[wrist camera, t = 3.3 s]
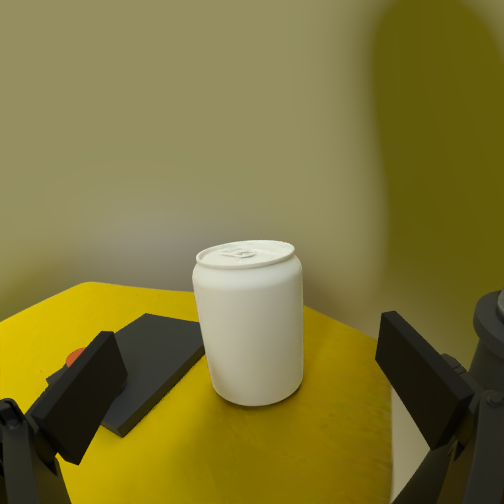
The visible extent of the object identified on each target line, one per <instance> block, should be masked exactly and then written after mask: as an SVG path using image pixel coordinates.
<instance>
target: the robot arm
mask: <svg viewBox="0 0 504 504" xmlns="http://www.w3.org/2000/svg"><path fill="white" fill-rule="evenodd" d="M496 313H497V316H498V317H499V319H500V320H501V321H502V323H503V324H504V288H503V290H502V291H501V293H500V295H499V297H498V302H497V306H496ZM375 360H376V361H377V363H378V364H379V366H380V368H381V369H382V371H383V372H384V374H385V375H386V377H387V378H388V380H389V381H390V383H391V385H392V386H393V388H394V389H395V391H396V392H397V394H398V396H399V397H400V399H401V400H402V402H403V404H404V405H405V407H406V408H407V410H408V412H409V413H410V415H411V417H412V418H413V420H414V422H415V423H416V425H417V427H418V428H419V430H420V432H421V433H422V435H423V437H424V438H425V440H426V442H427V444H428V445H429V447H430V449H431V450H432V451H433V450H435V449H437V448H439V447H442V446H444V445H446V444H448V442H449V440H450V439H451V437H452V435H453V434H454V435H455V437H456V438H457V440H456V442H455V443H454V445H453V446H452V448H451V449H450V451H449V452H448V454H447V456H450V454H451V453H452V456H451V459H450V463H449V467H448V470H447V474H446V477H445V480H444V483H443V486H442V489H441V492H440V495H439V498H438V500H437V503H436V504H504V393H502V392H501V391H498V390H488V391H486V390H485V389H484V388H483V387H482V386H481V385H480V384H479V383H478V382H477V380H476V379H475V378H474V377H473V376H472V375H471V374H470V373H469V372H467V370H466V369H465V368H464V367H463V366H461V364H460V363H459V362H458V361H457V360H456V359H455V358H453V357H451V356H449V355H447V354H442V355H440V354H439V353H438V352H436V350H434V348H433V347H432V346H431V345H430V344H429V343H428V342H427V341H426V340H425V339H424V338H423V337H422V336H421V335H420V334H419V333H418V332H416V330H415V329H414V328H413V327H412V326H411V325H410V324H408V323H407V322H406V321H405V320H404V319H403V318H402V317H401V316H400V315H399V314H398V313H397V312H396V311H390V312H384V313H382V315H381V323H380V330H379V338H378V344H377V350H376V356H375ZM127 376H128V373H127V370H126V367H125V365H124V362H123V359H122V356H121V353H120V350H119V347H118V344H117V341H116V338H115V335H114V332H113V331H101V332H100V333H99V334H98V335H97V336H96V337H95V338H94V340H93V341H92V342H91V343H90V344H89V345H88V346H87V347H86V348H85V350H84V351H83V352H82V353H81V354H80V355H79V356H78V357H77V359H76V360H75V361H74V362H73V363H72V364H71V365H70V367H69V368H68V369H67V370H66V371H65V372H64V373H63V375H62V376H61V377H60V378H57V379H56V380H54V381H53V382H51V383H50V384H49V385H48V387H47V388H46V389H45V392H44V391H43V393H42V394H41V395H40V397H38V399H37V400H36V401H35V402H34V403H33V405H32V406H31V407H30V408H29V410H28V411H27V412H26V413H25V415H24V414H23V413H22V411H21V410H20V408H19V407H18V405H17V403H16V402H15V401H14V400H13V399H11V398H4V399H2V400H0V504H71V501H70V498H69V495H68V492H67V489H66V486H65V483H64V480H63V476H62V473H61V469H60V466H59V462H58V460H57V458H56V457H55V455H56V454H57V452H58V453H59V454H60V455H61V457H62V458H63V459H64V460H65V461H67V462H70V463H73V464H75V465H78V466H79V464H80V462H81V460H82V458H83V456H84V454H85V452H86V450H87V448H88V446H89V445H90V443H91V441H92V439H93V437H94V435H95V433H96V431H97V430H98V428H99V426H100V424H101V422H102V420H103V419H104V417H105V415H106V413H107V411H108V410H109V408H110V406H111V404H112V402H113V401H114V399H115V397H116V395H117V394H118V392H119V390H120V388H121V387H122V385H123V383H124V381H125V380H126V378H127ZM452 451H453V452H452Z"/></svg>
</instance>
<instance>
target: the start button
mask: <svg viewBox="0 0 504 504" xmlns="http://www.w3.org/2000/svg"><path fill="white" fill-rule="evenodd" d="M85 348H86V347H84V348H80V349H78V350H75V351H74V352H72V353H71V354H70V355H69V356H68V357H67V359H66V364H67V366H68V368H69V367H70V365H71V364H72V363H73V362H74V361H75V360H76V359H77V357H78V356H79V355H80V354H81V353H82V352H83V351H84V350H85Z"/></svg>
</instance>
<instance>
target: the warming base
mask: <svg viewBox="0 0 504 504" xmlns="http://www.w3.org/2000/svg"><path fill="white" fill-rule="evenodd" d="M114 335H115V338H116V341H117V344H118V347H119V350H120V353H121V356H122V359H123V362H124V365H125V367H126V370H127V373H128V376H127V378H126V380H125V381H124V383H123V385H122V387H121V388H120V390H119V392H118V394H117V395H116V397H115V399H114V401H113V402H112V404H111V406H110V408H109V410H108V411H107V413H106V415H105V417H104V419H103V420H102V422H101V425H102V426H104V427H105V428H107V429H109V430H110V431H112V432H114V433H115V434H117V435H119V436H120V437H124V436H125V435H126V434H127V433H128V432H129V431H130V430H131V429H132V428H133V427H134V426H135V425H136V424H137V423H138V422H139V421H140V420H141V419H142V418H143V417H144V416H145V415H146V414H147V413H148V412H149V411H150V410H151V409H152V408H153V407H154V405H155V404H156V403H157V402H158V401H159V400H160V399H161V398H162V397H163V396H164V395H165V394H166V393H167V392H168V391H169V390H170V389H171V388H172V387H173V386H174V385H175V384H176V383H177V382H178V381H179V380H180V378H181V377H182V376H183V375H184V374H185V373H186V372H187V371H188V370H189V369H190V368H191V367H192V366H193V365H194V364H195V363H196V361H197V360H198V359H199V358H200V357H201V356H202V355H203V354H204V353H205V347H204V342H203V337H202V332H201V327H200V323H199V322H193V321H187V320H180V319H175V318H169V317H163V316H158V315H152V314H147V313H145V314H144V315H142V316H141V317H139V318H138V319H136V320H135V321H133V322H131V323H130V324H128V325H127V326H125V327H124V328H122V329H121V330H119V331H118V332H116V333H115V334H114ZM67 369H68V366H67V364H66V363H65V365H64V366H63V368H61V369H60V370H58V371H57V372H55V373H54V374H52V375H51V376H49V377H48V378H46V381H47V383H48V385H49V384H50V383H51V382H53V381H54V380H56V379H57V378H60V377H61V376H62V375H63V373H64V372H65V371H66V370H67Z"/></svg>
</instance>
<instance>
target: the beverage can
mask: <svg viewBox="0 0 504 504" xmlns="http://www.w3.org/2000/svg"><path fill="white" fill-rule="evenodd" d="M294 251H295V249H294V247H293V246H292V245H291V244H289V243H285V242H280V241H270V240H253V241H241V242H233V243H227V244H222V245H218V246H214V247H211V248H208V249H205V250H203V251H201V252H200V253H199V254H198V255H197V256H196V260H197V264H196V266H195V268H194V270H193V274H192V280H193V286H194V293H195V299H196V304H197V310H198V316H199V321H200V327H201V332H202V337H203V342H204V347H205V352H206V357H207V362H208V367H209V371H210V376H211V380H212V384H213V387H214V389H215V390H216V392H217V393H218V394H219V395H220V396H221V397H223V398H224V399H226V400H228V401H230V402H232V403H235V404H239V405H245V406H263V405H268V404H272V403H276V402H278V401H281V400H283V399H285V398H287V397H288V396H290V395H291V394H292V393H293V392H294V391H295V390H296V389H297V388H298V387H299V385H300V384H301V382H302V378H303V282H302V281H303V280H302V265H301V263H300V261H299V259H298V258H297V257H296V255H295V254H294Z"/></svg>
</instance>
